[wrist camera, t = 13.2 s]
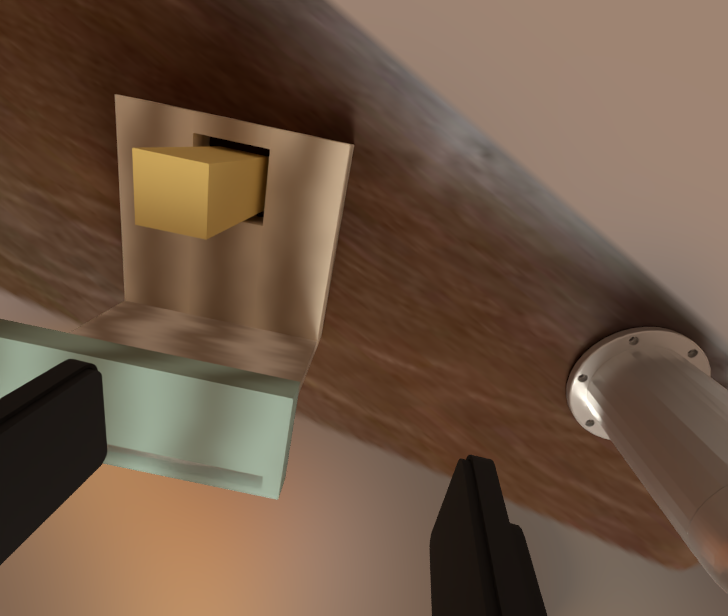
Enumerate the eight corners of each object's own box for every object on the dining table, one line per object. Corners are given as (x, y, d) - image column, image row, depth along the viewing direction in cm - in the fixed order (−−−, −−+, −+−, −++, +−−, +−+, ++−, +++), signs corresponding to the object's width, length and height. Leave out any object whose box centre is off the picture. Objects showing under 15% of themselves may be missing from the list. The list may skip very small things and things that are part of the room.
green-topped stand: (366, 147, 32) (331, 151, 15) (330, 342, 40) (278, 499, 22) (126, 95, 32) (-196, 38, 15) (134, 301, 39) (-74, 426, 22)
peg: (271, 157, 33) (209, 164, 22) (266, 209, 35) (206, 239, 24) (220, 146, 33) (132, 147, 22) (217, 198, 35) (135, 224, 24)
